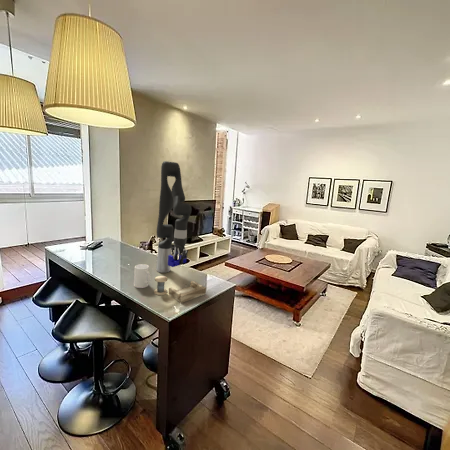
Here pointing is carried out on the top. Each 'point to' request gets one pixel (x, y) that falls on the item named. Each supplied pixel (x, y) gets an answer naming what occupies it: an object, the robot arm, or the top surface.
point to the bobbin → (160, 285)
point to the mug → (141, 276)
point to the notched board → (187, 292)
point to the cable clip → (174, 263)
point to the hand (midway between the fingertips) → (178, 263)
